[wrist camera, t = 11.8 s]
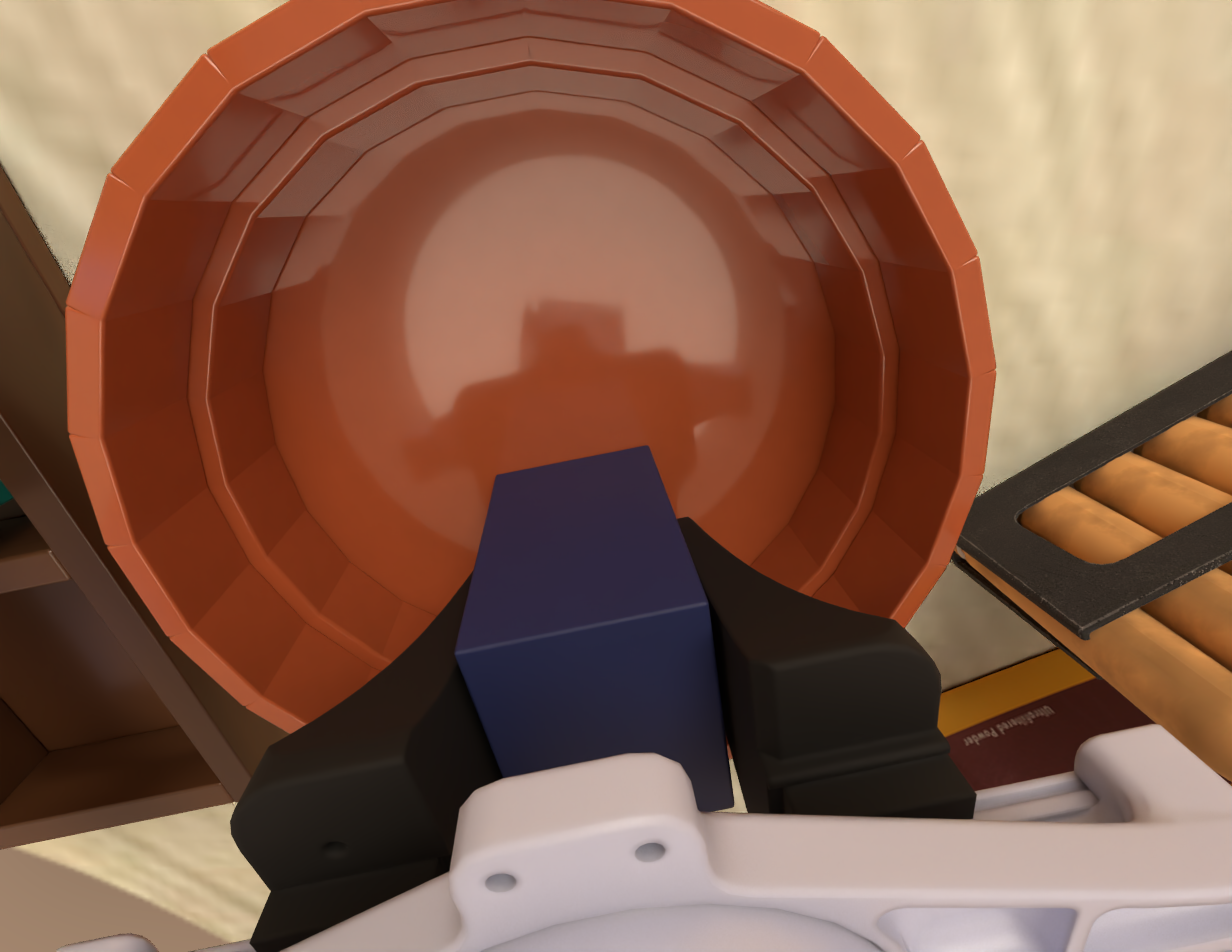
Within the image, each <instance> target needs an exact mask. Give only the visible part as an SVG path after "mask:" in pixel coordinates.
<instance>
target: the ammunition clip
mask: <svg viewBox="0 0 1232 952" xmlns="http://www.w3.org/2000/svg"><path fill="white" fill-rule="evenodd" d="M951 558H952V560H953V562H954V564H955V565H956V566H957V567H958V568H959V569H961V570H962V571H963V572H964V573H966V574H967V575H968V576H969V577H971V578H972V579H973V580H974V581H976V582H977V583H978V584H979V585H981V586H982V587H983V588H984V589H986V590H987V591H988V592H989V593H991V594H992V595H993V596H994V597H996V598H997V599H998V600H999V601H1001V602H1002V603H1003V604H1004V605H1006V606H1007V607H1008V608H1010V609H1011V610H1012V611H1013V612H1015V613H1016V614H1017V615H1018V616H1020V617H1021V618H1022V619H1023V620H1025V621H1026V622H1027V623H1028V624H1030V625H1031V626H1032V627H1033V628H1035V629H1036V630H1037V631H1038V632H1040V633H1041V634H1042V635H1043V636H1045V637H1046V638H1047V639H1048V640H1050V641H1051V642H1052V643H1053V644H1055V645H1056V646H1057V647H1058V648H1060V649H1061V650H1062V651H1063V652H1065V653H1066V654H1067V655H1068V656H1070V657H1071V658H1072V659H1073V660H1075V661H1076V662H1077V663H1078V664H1080V665H1081V666H1082V667H1083V668H1085V669H1086V670H1087V671H1088V672H1090V673H1091V674H1092V675H1094V676H1095V677H1096V678H1097V679H1099V680H1103V679H1105V680H1106V681H1107V682H1108V683H1109V684H1110V685H1112V686H1113V687H1114V688H1115V689H1116V690H1117V691H1119V692H1120V693H1121V694H1122V695H1123V696H1125V697H1126V698H1127V699H1128V700H1129V701H1130V702H1132V703H1133V704H1134V705H1135V706H1136V707H1137V708H1139V709H1140V710H1141V711H1142V712H1143V713H1144V714H1146V715H1147V716H1148V717H1149V718H1150V719H1151V720H1153V721H1154V722H1155V723H1156V724H1159V725H1161V726H1162V727H1163V728H1165V729H1166V730H1167V731H1168V732H1169V733H1170V734H1172V735H1173V736H1174V737H1175V738H1176V739H1177V740H1178V741H1180V742H1181V743H1182V744H1183V745H1184V746H1185V747H1187V748H1188V749H1189V750H1190V751H1191V752H1192V753H1194V754H1195V755H1196V756H1197V757H1198V758H1199V759H1201V760H1202V761H1203V762H1204V763H1205V764H1206V765H1208V766H1209V767H1210V768H1211V769H1212V770H1214V771H1215V772H1217V773H1218V774H1220V775H1221V776H1223V777H1225V778H1226V779H1228V780H1229V781H1231V782H1232V351H1231V352H1229V353H1227V354H1225V355H1224V356H1222V357H1220V358H1218V359H1217V360H1215V361H1213V362H1211V363H1210V364H1208V365H1206V366H1205V367H1203V368H1201V369H1199V370H1198V371H1196V372H1194V373H1192V374H1191V375H1189V376H1187V377H1185V378H1184V379H1182V380H1180V381H1178V382H1177V383H1175V384H1173V385H1171V386H1170V387H1168V388H1166V389H1165V390H1163V391H1161V392H1159V393H1158V394H1156V395H1154V396H1152V397H1151V398H1149V399H1147V400H1145V401H1144V402H1142V403H1140V404H1138V405H1137V406H1135V407H1133V408H1132V409H1130V410H1128V411H1126V412H1125V413H1123V414H1121V415H1119V416H1118V417H1116V418H1114V419H1112V420H1111V421H1109V422H1107V423H1105V424H1104V425H1102V426H1100V427H1098V428H1097V429H1095V430H1093V431H1092V432H1090V433H1088V434H1086V435H1085V436H1083V437H1081V438H1079V439H1078V440H1076V441H1074V442H1072V443H1071V444H1069V445H1067V446H1065V447H1064V448H1062V449H1060V450H1058V451H1057V452H1055V453H1053V454H1052V455H1050V456H1048V457H1046V458H1045V459H1043V460H1041V461H1039V462H1038V463H1036V464H1034V465H1032V466H1031V467H1029V468H1027V469H1025V470H1024V471H1022V472H1020V473H1018V474H1017V475H1015V476H1013V477H1012V478H1010V479H1008V480H1006V481H1005V482H1003V483H1001V484H999V485H998V486H996V487H994V488H992V489H991V490H989V491H987V492H985V493H984V494H982V495H980V496H979V497H977V498H975V499H974V501H973V504H972V506H971V509H970V511H969V514H968V516H967V519H966V522H965V524H964V527H963V529H962V532H961V534H960V537H959V539H958V542H957V544H956V547H955V549H954V552H953V554H952V557H951Z"/></svg>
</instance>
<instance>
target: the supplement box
mask: <svg viewBox="0 0 1232 952" xmlns="http://www.w3.org/2000/svg"><path fill="white" fill-rule="evenodd" d="M1149 724H1156V723H1155V722H1154V721H1153V720H1151V719H1150V718H1149V717H1148V716H1147V715H1146V714H1144V713H1143V712H1142V711H1141V710H1140V709H1139V708H1137V707H1136V706H1135V705H1134V704H1133V703H1132V702H1130V701H1129V700H1128V699H1127V698H1126V697H1125V696H1123V695H1122V694H1121V693H1120V692H1119V691H1117V690H1116V689H1115V688H1114V687H1113V686H1112V685H1110V684H1109V683H1108V682H1107V681H1106V680H1105V679H1103V680H1099V679H1097V678H1096V677H1095V676H1094V675H1092V674H1091V673H1090V672H1088V671H1087V670H1086V669H1085V668H1083V667H1082V666H1081V665H1080V664H1078V663H1077V662H1076V661H1075V660H1073V659H1072V658H1071V657H1070V656H1068V655H1067V654H1066V653H1065V652H1063V651H1062V650H1061V649H1057V650H1055V651H1052V652H1049V653H1047V654H1044V655H1041V656H1039V657H1036V658H1033V659H1031V660H1028V661H1026V662H1023V663H1020V664H1018V665H1015V666H1012V667H1010V668H1007V669H1005V670H1002V671H999V672H997V673H994V674H991V675H989V676H986V677H984V678H981V679H978V680H976V681H973V682H971V683H968V684H965V685H963V686H960V687H957V688H955V689H952V690H950V691H947V692H944V693H942V694H941V697H940V706H939V716H938V725H937V727H938V728H939V730H940V731H941V733H942V734H943V735H944V737H945V738H946V739H947V741H948V742H949V745H950V748H951V749H950V753H948V755H949V756H950V758H951V759H952V760H953V762H954V763H955V765H956V766H957V767H958V769H959V770H960V772H961V773H962V775H963V776H964V777H965V779H966V780H967V782H968V783H969V784H970V786H971V787H972V789H973V790H974V791H979V790H984V789H989V788H993V787H998V786H1003V785H1008V784H1013V783H1018V782H1023V781H1028V780H1033V779H1038V778H1042V777H1047V776H1052V775H1057V774H1062V773H1067V772H1072V771H1074V762H1075V756H1076V753H1077V750H1078V749H1079V747H1080V745H1081V744H1082V743H1084V742H1085V741H1086V740H1088V739H1089V738H1092V737H1094V736H1097V735H1100V734H1105V733H1110V732H1115V731H1120V730H1125V729H1130V728H1135V727H1140V726H1144V725H1149ZM1213 771H1214V770H1213ZM1216 773H1217V772H1216ZM1217 774H1218V773H1217ZM1218 775H1219V776H1220V777H1222V778H1223V779H1224V780H1225V781H1226V782H1227V783H1229V784H1230V785H1231V786H1232V782H1231V781H1229V780H1228V779H1226V778H1225V777H1223V776H1221V775H1220V774H1218Z"/></svg>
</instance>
